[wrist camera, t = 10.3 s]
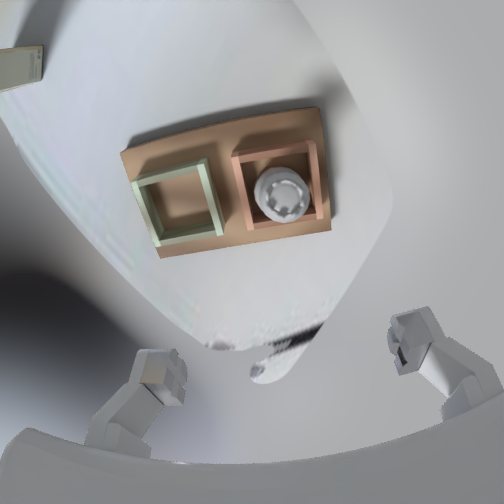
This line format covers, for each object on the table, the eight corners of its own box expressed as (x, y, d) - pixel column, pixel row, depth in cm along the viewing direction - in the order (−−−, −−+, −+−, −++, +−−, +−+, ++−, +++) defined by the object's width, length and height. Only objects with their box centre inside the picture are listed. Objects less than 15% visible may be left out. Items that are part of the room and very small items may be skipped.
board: (125, 148, 24) (110, 159, 21) (315, 106, 22) (325, 110, 19) (163, 250, 31) (155, 269, 28) (328, 223, 29) (336, 240, 26)
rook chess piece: (246, 176, 25) (236, 178, 17) (293, 158, 24) (306, 151, 16) (265, 223, 26) (264, 245, 18) (311, 205, 25) (331, 220, 17)
